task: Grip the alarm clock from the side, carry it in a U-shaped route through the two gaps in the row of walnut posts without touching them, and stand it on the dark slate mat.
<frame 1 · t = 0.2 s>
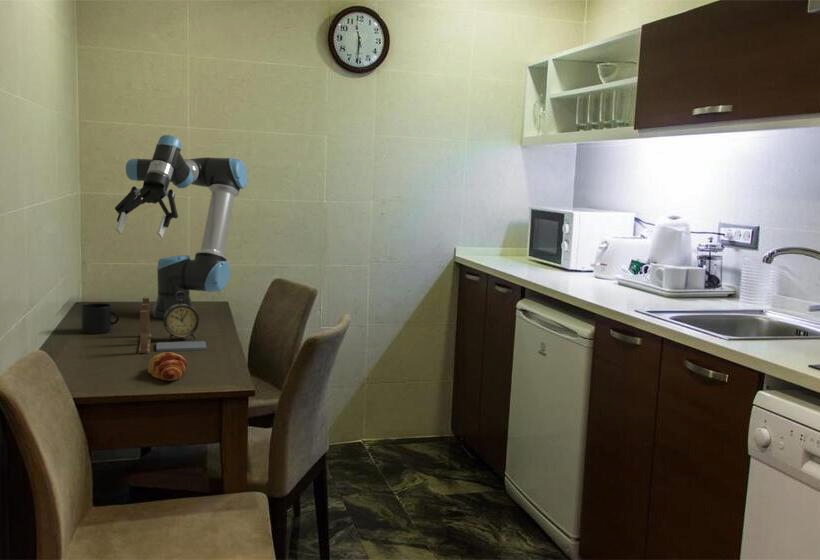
hand: (139, 233, 236), 36 cm above the table, tool tilted 35°, fingers open, 13 cm apart
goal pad: (181, 347, 239), on the table
slalom posts: (145, 344, 241), on the table
alarm clock: (180, 340, 251), on the table
croissant: (167, 375, 208), on the table
mug: (100, 332, 258), on the table
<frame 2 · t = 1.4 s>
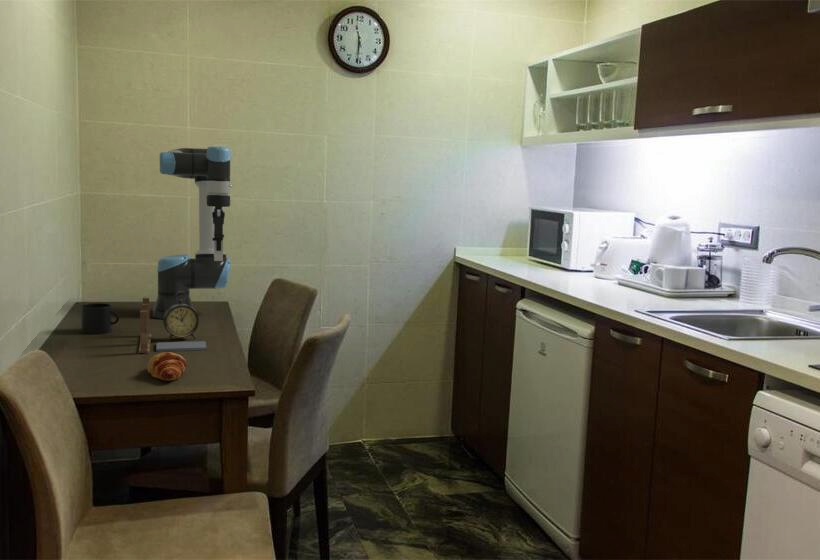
hand: (218, 258, 250), 27 cm above the table, tool pointing down, fingers open, 13 cm apart
nothing on the table moved.
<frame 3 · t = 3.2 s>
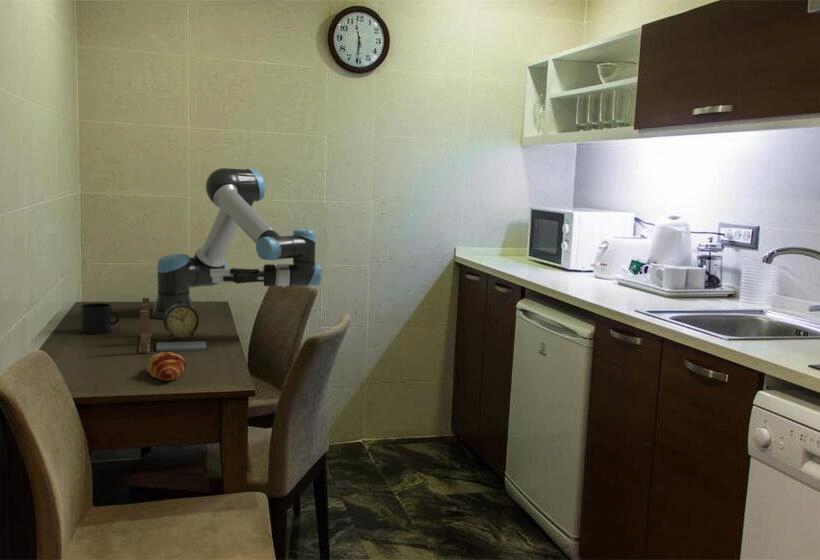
hand: (211, 275, 250), 21 cm above the table, tool horizontal, fingers open, 13 cm apart
nothing on the table moved.
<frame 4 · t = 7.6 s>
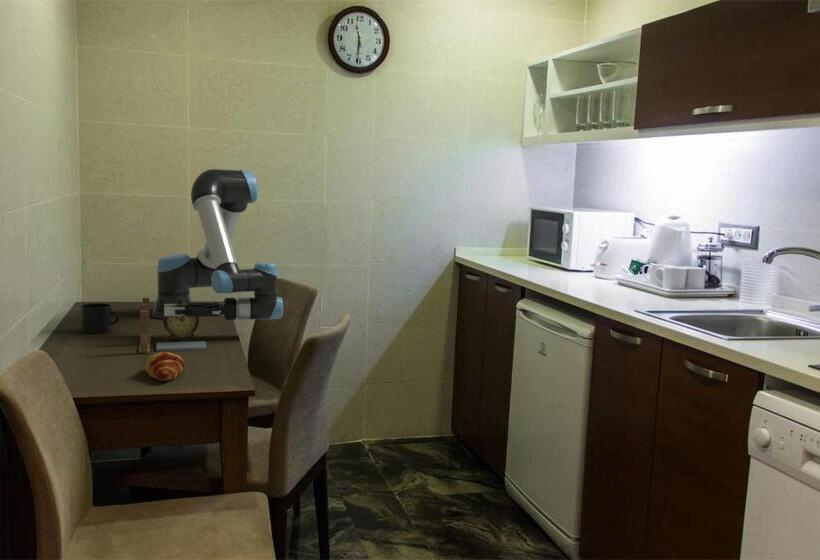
hand: (164, 309, 248), 10 cm above the table, tool horizontal, fingers closed on alarm clock, 6 cm apart
alarm clock: (180, 339, 250), on the table, touching gripper
everything else where it was.
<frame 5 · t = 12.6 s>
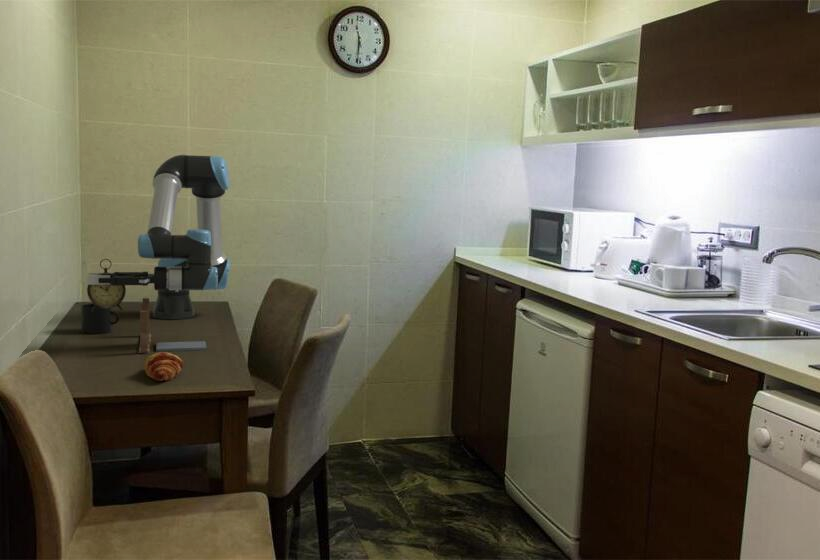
hand: (88, 278, 232), 22 cm above the table, tool horizontal, fingers closed on alarm clock, 5 cm apart
alarm clock: (106, 311, 235), point 11 cm above the table, touching gripper
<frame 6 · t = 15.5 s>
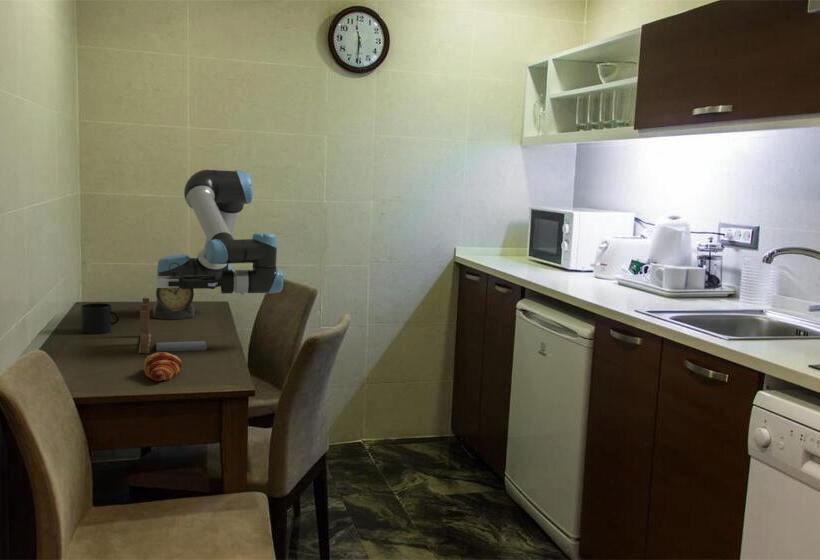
hand: (157, 282, 234), 21 cm above the table, tool horizontal, fingers closed on alarm clock, 5 cm apart
alarm clock: (174, 314, 237), point 11 cm above the table, touching gripper
when the fingers open (12 cm above the table, at t = 17.9 s): alarm clock drops 1 cm, resting on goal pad.
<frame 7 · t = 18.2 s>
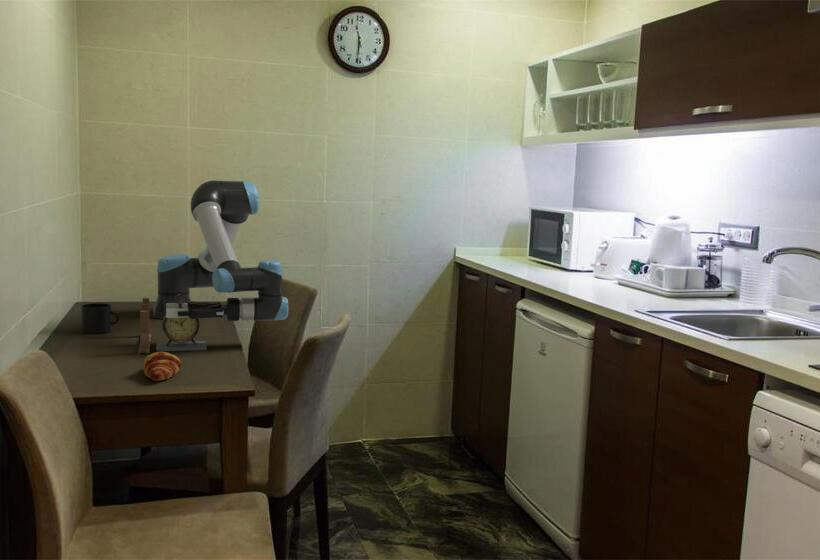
hand: (166, 310, 236), 12 cm above the table, tool horizontal, fingers open, 9 cm apart
alarm clock: (180, 345, 239), point 1 cm above the table, touching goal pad
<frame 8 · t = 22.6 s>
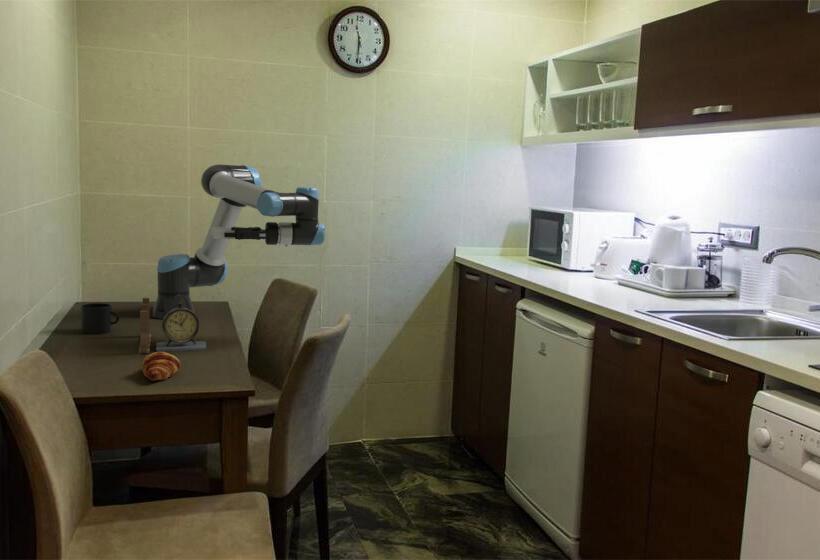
hand: (212, 232, 245), 36 cm above the table, tool horizontal, fingers open, 13 cm apart
at the end: alarm clock inside the target area on the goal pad (0.4 cm from its centre), point 0.6 cm above the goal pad's base; alarm clock tilted 0°; alarm clock touching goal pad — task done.
